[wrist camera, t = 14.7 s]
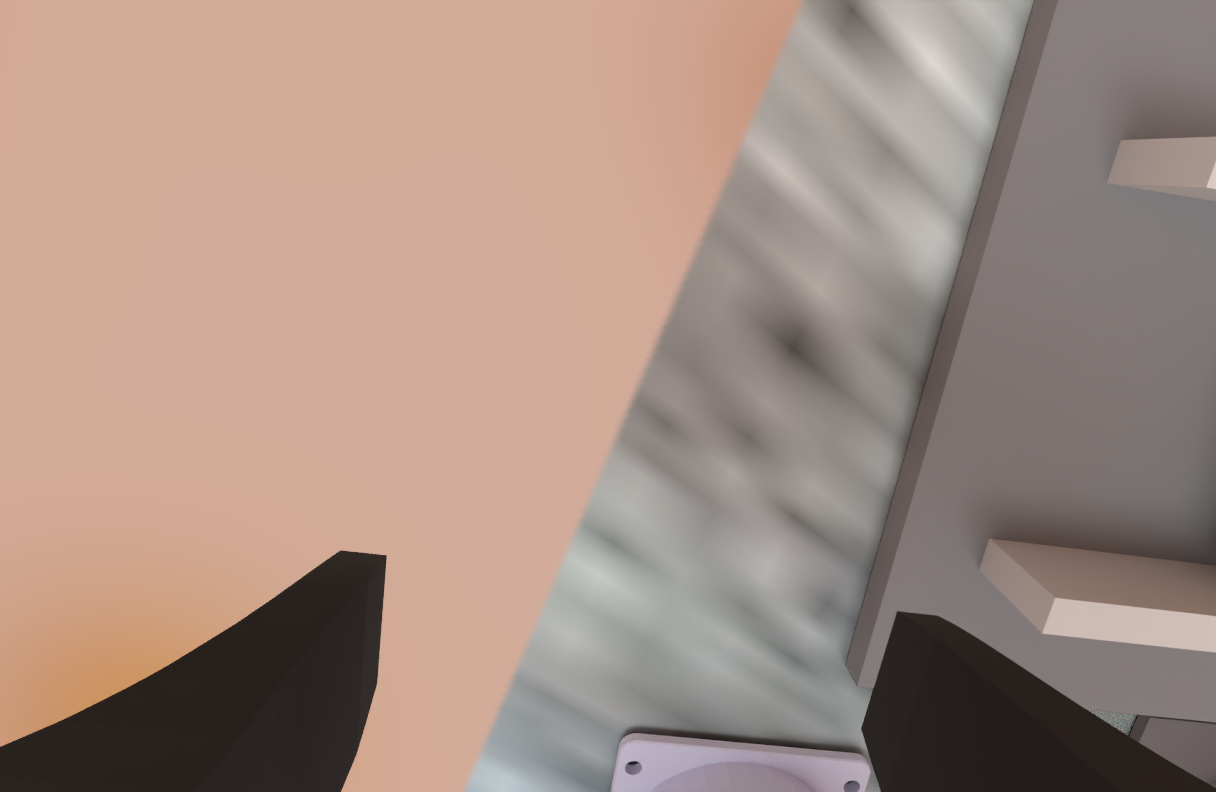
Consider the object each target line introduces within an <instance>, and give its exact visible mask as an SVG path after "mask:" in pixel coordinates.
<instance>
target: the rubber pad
mask: <svg viewBox="0 0 1216 792" xmlns="http://www.w3.org/2000/svg"><path fill="white" fill-rule="evenodd" d="M1129 737H1131V738H1132V739H1134V740H1135V741H1137V742H1139V743H1140V744H1142V745H1144V746H1145V747H1147V748H1149V749H1150V750H1152V751H1154V752H1155V753H1157V754H1158V755H1160V756H1162V757H1163V758H1165V759H1167V760H1168V761H1170V762H1172V763H1173V764H1175V765H1177V766H1178V767H1180V768H1182V769H1183V770H1185V771H1187V772H1189V773H1190V774H1192V775H1194V776H1196V777H1197V778H1199V779H1201V780H1203V781H1204V782H1206V783H1208V784H1210V785H1211V784H1214V783H1216V722H1207V721H1197V720H1187V719H1177V718H1167V717H1157V716H1147V715H1138V717H1137V719H1136V721H1135V724H1134V726H1133V728H1132V731H1131V733H1130V736H1129Z"/></svg>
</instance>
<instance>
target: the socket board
mask: <svg viewBox="0 0 1216 792" xmlns="http://www.w3.org/2000/svg"><path fill="white" fill-rule="evenodd" d="M897 611H900V612H910V613H919V614H928V615H937V616H940V617H942V618H943V619H945V620H947V621H949V622H951V623H953V624H955V625H957V626H958V627H960V628H962V629H963V630H965V631H967V632H968V633H970V634H972V635H973V636H975V637H976V638H978V639H980V640H981V641H983V642H984V643H986V644H988V645H989V646H991V647H992V648H994V649H995V650H997V651H998V652H1000V653H1001V654H1003V655H1004V656H1006V657H1007V658H1009V659H1010V660H1012V661H1014V662H1015V663H1017V664H1018V665H1020V666H1021V667H1023V668H1024V669H1026V670H1027V671H1029V672H1030V673H1032V674H1033V675H1035V676H1036V677H1038V678H1039V679H1041V680H1042V681H1044V682H1045V683H1047V684H1048V685H1050V686H1051V687H1053V688H1054V689H1056V690H1057V691H1059V692H1060V693H1062V694H1063V695H1065V696H1066V697H1068V698H1069V699H1071V700H1072V701H1074V702H1076V703H1077V704H1079V705H1080V706H1082V707H1083V708H1085V709H1087V710H1097V711H1107V712H1117V713H1127V714H1137V715H1147V716H1157V717H1167V718H1177V719H1187V720H1197V721H1207V722H1216V0H1035V1H1034V4H1033V8H1032V11H1031V15H1030V18H1029V22H1028V25H1027V29H1026V32H1025V36H1024V39H1023V43H1022V47H1021V50H1020V54H1019V57H1018V61H1017V64H1016V68H1015V71H1014V75H1013V78H1012V82H1011V85H1010V89H1009V92H1008V96H1007V99H1006V103H1005V106H1004V110H1003V113H1002V117H1001V120H1000V124H999V127H998V131H997V134H996V138H995V141H994V145H993V148H992V152H991V155H990V159H989V162H988V166H987V169H986V173H985V176H984V180H983V183H982V187H981V190H980V194H979V197H978V201H977V204H976V208H975V211H974V215H973V218H972V222H971V226H970V229H969V233H968V236H967V240H966V243H965V247H964V250H963V254H962V257H961V261H960V264H959V268H958V271H957V275H956V278H955V282H954V285H953V289H952V292H951V296H950V299H949V303H948V306H947V310H946V313H945V317H944V320H943V324H942V327H941V331H940V334H939V338H938V341H937V345H936V348H935V352H934V355H933V359H932V362H931V366H930V369H929V373H928V376H927V380H926V383H925V387H924V390H923V394H922V397H921V401H920V405H919V408H918V412H917V415H916V419H915V422H914V426H913V429H912V433H911V436H910V440H909V443H908V447H907V450H906V454H905V457H904V461H903V464H902V468H901V471H900V475H899V478H898V482H897V485H896V489H895V492H894V496H893V499H892V503H891V506H890V510H889V513H888V517H887V520H886V524H885V527H884V531H883V534H882V538H881V541H880V545H879V548H878V552H877V555H876V559H875V562H874V566H873V569H872V573H871V576H870V580H869V583H868V587H867V591H866V594H865V598H864V601H863V605H862V608H861V612H860V615H859V619H858V622H857V626H856V629H855V633H854V636H853V640H852V643H851V647H850V650H849V654H848V657H847V661H846V664H845V665H846V667H847V669H848V671H849V673H850V674H851V676H852V678H853V680H854V682H855V684H856V685H857V687H867V688H874V685H875V682H876V679H877V676H878V672H879V669H880V666H881V662H882V659H883V656H884V653H885V649H886V646H887V643H888V640H889V636H890V633H891V630H892V626H893V623H894V620H895V617H896V613H897Z"/></svg>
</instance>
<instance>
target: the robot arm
mask: <svg viewBox="0 0 1216 792" xmlns="http://www.w3.org/2000/svg"><path fill="white" fill-rule="evenodd" d="M385 569H386V555H377V554H368V553H359V552H349V551H340V552H338V553H336V554H335V555H333V556H332V557H331V558H329V559H328V560H326V561H325V562H323V563H322V564H321V565H319V566H318V567H316V568H315V569H313V570H312V571H311V572H309V573H308V574H306V575H305V576H304V577H302V578H301V579H300V580H298V581H297V582H295V583H294V584H293V585H291V586H290V587H288V588H287V589H285V590H284V591H283V592H281V593H280V594H278V595H277V596H276V597H275V598H273V599H272V600H270V601H269V602H267V603H266V604H264V605H263V606H261V607H260V608H258V609H257V610H255V611H254V612H252V613H251V614H250V615H248V616H247V617H245V618H244V619H242V620H241V621H239V622H238V623H236V624H235V625H233V626H232V627H230V628H228V629H227V630H225V631H224V632H222V633H220V634H219V635H217V636H215V637H214V638H212V639H210V640H209V641H207V642H206V643H204V644H203V645H201V646H199V647H197V648H196V649H194V650H193V651H191V652H189V653H188V654H186V655H185V656H183V657H181V658H180V659H178V660H176V661H175V662H173V663H171V664H170V665H168V666H166V667H164V668H163V669H161V670H159V671H158V672H156V673H154V674H152V675H150V676H149V677H147V678H145V679H143V680H141V681H139V682H137V683H135V684H134V685H132V686H130V687H128V688H126V689H124V690H122V691H120V692H118V693H116V694H114V695H112V696H110V697H108V698H106V699H104V700H103V701H100V702H98V703H97V704H94V705H92V706H91V707H88V708H86V709H84V710H83V711H80V712H78V713H77V714H74V715H72V716H70V717H68V718H66V719H64V720H62V721H59V722H57V723H55V724H53V725H50V726H48V727H46V728H44V729H41V730H39V731H36V732H34V733H32V734H30V735H27V736H25V737H22V738H20V739H18V740H16V741H13V742H11V743H9V744H7V745H4V746H2V747H0V792H341V790H342V788H343V785H344V783H345V780H346V778H347V776H348V773H349V771H350V769H351V766H352V763H353V761H354V758H355V756H356V754H357V750H358V747H359V743H360V740H361V737H362V734H363V730H364V727H365V724H366V720H367V717H368V713H369V710H370V706H371V703H372V699H373V695H374V692H375V689H376V685H377V677H378V663H379V650H380V636H381V622H382V609H383V596H384V584H385V583H384V582H385ZM861 729H862V732H863V736H864V739H865V742H866V746H867V749H868V752H869V756H870V759H871V762H872V766H873V769H874V772H875V775H876V778H877V781H878V783H879V786H880V789H881V792H1216V788H1215V787H1213V786H1211V785H1210V784H1208V783H1206V782H1204V781H1203V780H1201V779H1199V778H1197V777H1196V776H1194V775H1192V774H1190V773H1189V772H1187V771H1185V770H1183V769H1182V768H1180V767H1178V766H1177V765H1175V764H1173V763H1172V762H1170V761H1168V760H1167V759H1165V758H1163V757H1162V756H1160V755H1158V754H1157V753H1155V752H1154V751H1152V750H1150V749H1149V748H1147V747H1145V746H1144V745H1142V744H1140V743H1139V742H1137V741H1135V740H1134V739H1132V738H1131V737H1129V736H1127V735H1126V734H1124V733H1122V732H1121V731H1119V730H1118V729H1116V728H1114V727H1113V726H1111V725H1110V724H1108V723H1107V722H1105V721H1103V720H1102V719H1100V718H1099V717H1097V716H1096V715H1094V714H1092V713H1091V712H1089V711H1088V710H1086V709H1085V708H1083V707H1082V706H1080V705H1079V704H1077V703H1076V702H1074V701H1072V700H1071V699H1069V698H1068V697H1066V696H1065V695H1063V694H1062V693H1060V692H1059V691H1057V690H1056V689H1054V688H1053V687H1051V686H1050V685H1048V684H1047V683H1045V682H1044V681H1042V680H1041V679H1039V678H1038V677H1036V676H1035V675H1033V674H1032V673H1030V672H1029V671H1027V670H1026V669H1024V668H1023V667H1021V666H1020V665H1018V664H1017V663H1015V662H1014V661H1012V660H1010V659H1009V658H1007V657H1006V656H1004V655H1003V654H1001V653H1000V652H998V651H997V650H995V649H994V648H992V647H991V646H989V645H988V644H986V643H984V642H983V641H981V640H980V639H978V638H976V637H975V636H973V635H972V634H970V633H968V632H967V631H965V630H963V629H962V628H960V627H958V626H957V625H955V624H953V623H951V622H949V621H947V620H945V619H943V618H942V617H940V616H937V615H928V614H919V613H910V612H900V611H897V613H896V617H895V620H894V623H893V626H892V630H891V633H890V636H889V640H888V643H887V646H886V649H885V653H884V656H883V659H882V662H881V666H880V669H879V672H878V676H877V679H876V682H875V685H874V689H873V692H872V695H871V699H870V702H869V705H868V708H867V712H866V715H865V718H864V722H863V725H862V728H861ZM630 761H637V762H639V763H637V764H636V765H629V764H627V763H629V762H630ZM870 772H871V769H870V767H869V765H868V763H867V761H866V759H865V757H863V756H862V755H860V754H857V753H848V752H837V751H826V750H815V749H805V748H794V747H783V746H772V745H761V744H750V743H739V742H728V741H718V740H707V739H696V738H685V737H674V736H663V735H652V734H641V733H633V734H629V735H627V736H625V737H624V738H623V739H622V740H621V742H620V744H619V748H618V754H617V759H616V764H615V769H614V775H613V780H612V785H611V790H610V792H865V790H866V787H867V784H868V780H869V777H870ZM852 780H854V781H853V782H851V783H850V784H845V783H847V782H848V781H852Z"/></svg>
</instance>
